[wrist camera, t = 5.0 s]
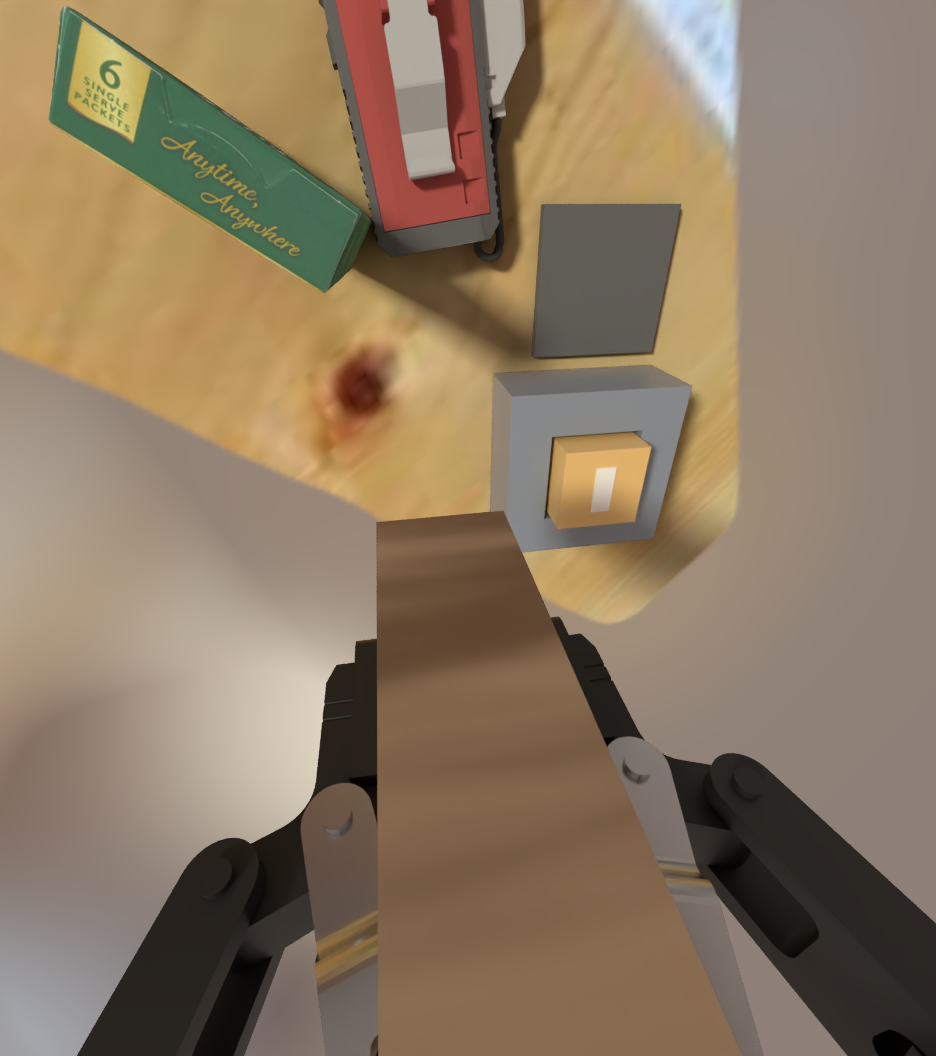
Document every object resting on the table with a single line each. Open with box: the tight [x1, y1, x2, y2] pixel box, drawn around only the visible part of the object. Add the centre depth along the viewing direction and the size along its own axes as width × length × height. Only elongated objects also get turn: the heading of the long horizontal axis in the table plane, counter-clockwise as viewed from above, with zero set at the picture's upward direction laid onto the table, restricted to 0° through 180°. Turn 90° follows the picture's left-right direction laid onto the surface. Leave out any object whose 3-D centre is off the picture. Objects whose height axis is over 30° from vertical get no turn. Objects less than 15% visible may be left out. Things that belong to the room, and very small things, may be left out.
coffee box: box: [49, 6, 372, 293], centre depth 18 cm, size 8×3×13 cm, turn 57°
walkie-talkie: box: [319, 0, 526, 262], centre depth 20 cm, size 9×4×20 cm
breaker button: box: [545, 431, 651, 529], centre depth 30 cm, size 5×5×4 cm
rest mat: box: [532, 204, 681, 358], centre depth 28 cm, size 8×8×1 cm
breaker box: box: [490, 365, 692, 552], centre depth 32 cm, size 11×11×5 cm
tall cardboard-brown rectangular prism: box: [377, 511, 742, 1056], centre depth 11 cm, size 4×4×12 cm
